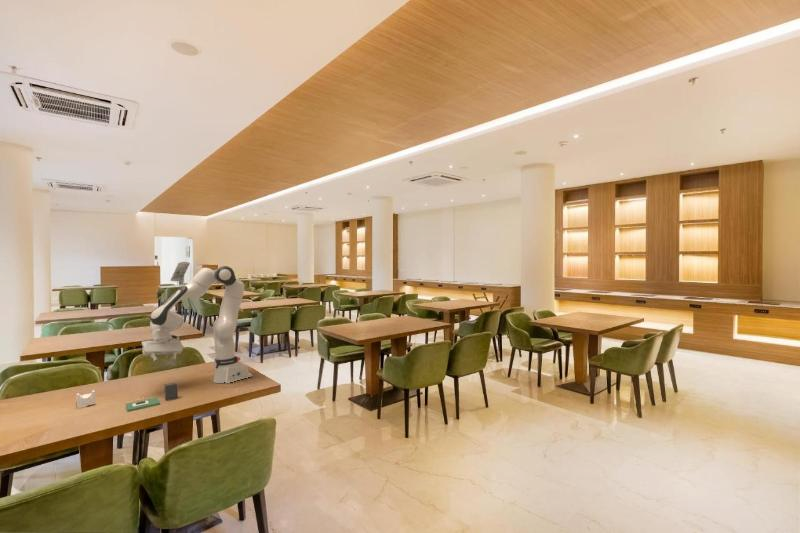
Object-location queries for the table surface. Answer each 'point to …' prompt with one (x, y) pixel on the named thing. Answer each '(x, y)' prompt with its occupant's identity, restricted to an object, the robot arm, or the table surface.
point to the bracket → (85, 399)
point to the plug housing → (170, 391)
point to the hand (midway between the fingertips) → (164, 360)
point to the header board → (142, 404)
